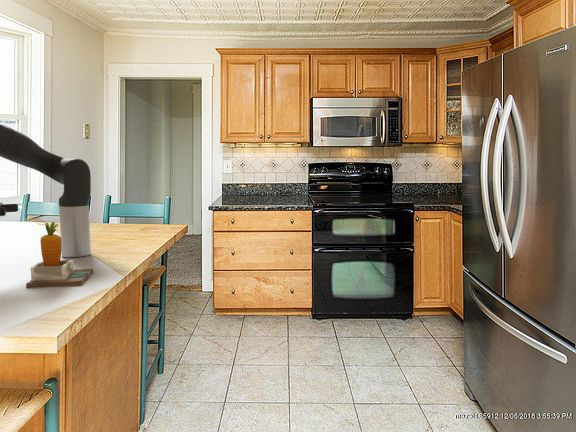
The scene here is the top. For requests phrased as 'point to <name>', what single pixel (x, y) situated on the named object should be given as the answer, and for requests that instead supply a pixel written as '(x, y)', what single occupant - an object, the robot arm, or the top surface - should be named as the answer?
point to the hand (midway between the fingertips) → (11, 209)
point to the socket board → (57, 275)
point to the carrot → (51, 246)
